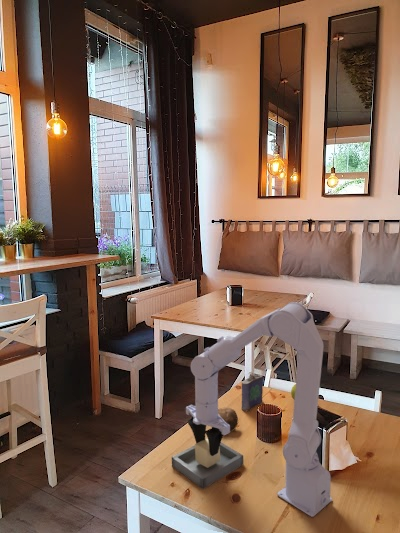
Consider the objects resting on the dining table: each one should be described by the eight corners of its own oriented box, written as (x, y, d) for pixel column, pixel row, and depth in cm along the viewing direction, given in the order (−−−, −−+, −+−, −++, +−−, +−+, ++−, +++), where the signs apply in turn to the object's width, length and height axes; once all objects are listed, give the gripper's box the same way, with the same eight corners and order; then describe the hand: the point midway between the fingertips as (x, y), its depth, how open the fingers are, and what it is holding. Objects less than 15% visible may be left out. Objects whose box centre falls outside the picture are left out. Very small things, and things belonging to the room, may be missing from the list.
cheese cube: (220, 460, 103) (219, 443, 103) (207, 467, 100) (206, 450, 100) (208, 454, 106) (207, 437, 106) (195, 461, 103) (194, 444, 103)
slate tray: (243, 464, 104) (243, 455, 103) (202, 489, 94) (202, 479, 94) (211, 445, 113) (211, 436, 112) (171, 466, 103) (171, 456, 103)
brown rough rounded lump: (223, 407, 128) (223, 398, 123) (243, 423, 123) (243, 414, 119) (206, 426, 124) (205, 416, 120) (226, 443, 120) (225, 434, 115)
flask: (246, 412, 131) (246, 378, 130) (238, 409, 133) (238, 375, 132) (264, 402, 138) (264, 370, 136) (257, 399, 140) (257, 367, 139)
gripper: (176, 394, 104) (177, 443, 106) (214, 414, 93) (215, 469, 95) (197, 386, 109) (197, 433, 110) (235, 405, 98) (236, 457, 100)
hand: (207, 449), depth 103 cm, fingers closed on cheese cube, 4 cm apart
